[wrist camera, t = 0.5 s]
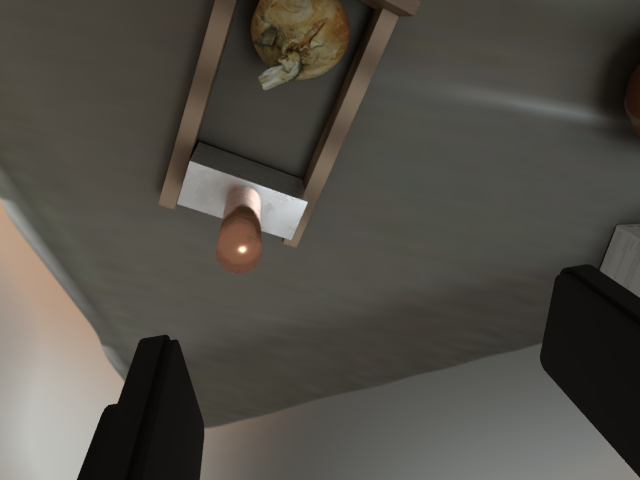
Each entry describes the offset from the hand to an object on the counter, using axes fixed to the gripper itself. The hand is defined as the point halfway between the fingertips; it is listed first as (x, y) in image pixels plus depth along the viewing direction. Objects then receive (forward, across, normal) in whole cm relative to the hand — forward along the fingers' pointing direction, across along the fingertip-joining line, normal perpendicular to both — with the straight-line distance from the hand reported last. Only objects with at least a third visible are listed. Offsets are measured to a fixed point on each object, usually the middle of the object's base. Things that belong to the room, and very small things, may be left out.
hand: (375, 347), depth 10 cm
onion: (+34, -2, -7) cm, 34 cm away
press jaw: (+33, +4, +6) cm, 33 cm away
